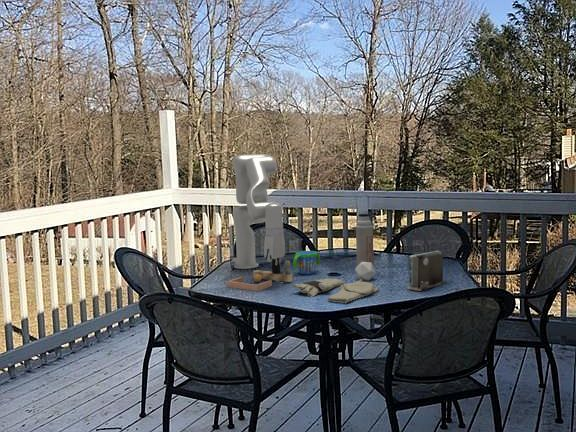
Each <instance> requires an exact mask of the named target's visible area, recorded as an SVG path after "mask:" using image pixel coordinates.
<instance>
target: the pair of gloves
mask: <svg viewBox="0 0 576 432" xmlns="http://www.w3.org/2000/svg"><path fill="white" fill-rule="evenodd" d="M337 286H338V287H339V291H337V292H336V293H334V294H331V295H329V296H328V297H327V302H328V301H335V302H343V303H344V302H345V304H347V302H348V303H350V302H349V301H351V302H353V301H352V300H354V301H355V299H356V300H358V299H357V298H359V299H361V297H362V298H364V296H365V297H367V296H369V295H370V294H371V295H372V294H373V293H376V292H377V291H379V287H377V286H375V285H374V284H373V283H372V282H368V281H364V280H362V279H360V280H359V279H358V280H356V281H355V282H349V283H345V282H344V280H341V279H340V278H325V279H316V280H310V281H305V282H302V283H300V284H298V283H297V284H292V288H297V289H298V290H300V292H301V293H302V294H306V293H307V294H306V295H307V296H308V297H309V296H315V295H316V296H317V295H319V294H322V293H321V292H323V293H326V292H327V291H329V290H332V289H333V288H335V287H337ZM325 291H326V292H325ZM318 293H319V294H318ZM316 296H315V297H316Z"/></svg>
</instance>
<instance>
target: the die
mask: <svg viewBox="0 0 576 432" xmlns="http://www.w3.org/2000/svg"><path fill="white" fill-rule="evenodd" d="M354 271H355V274H356V276H357V278H358V281H359V280H360V279H362V280H363V281H366V282H369V281H370V280H371V279H372V278H373V277H374V275H376V274H377V272H376V269H375V266H374V267H373V265H372V263H370V262H361V263H360V264H359V265H358V266H357V265H356V267H355V268H354Z"/></svg>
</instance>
